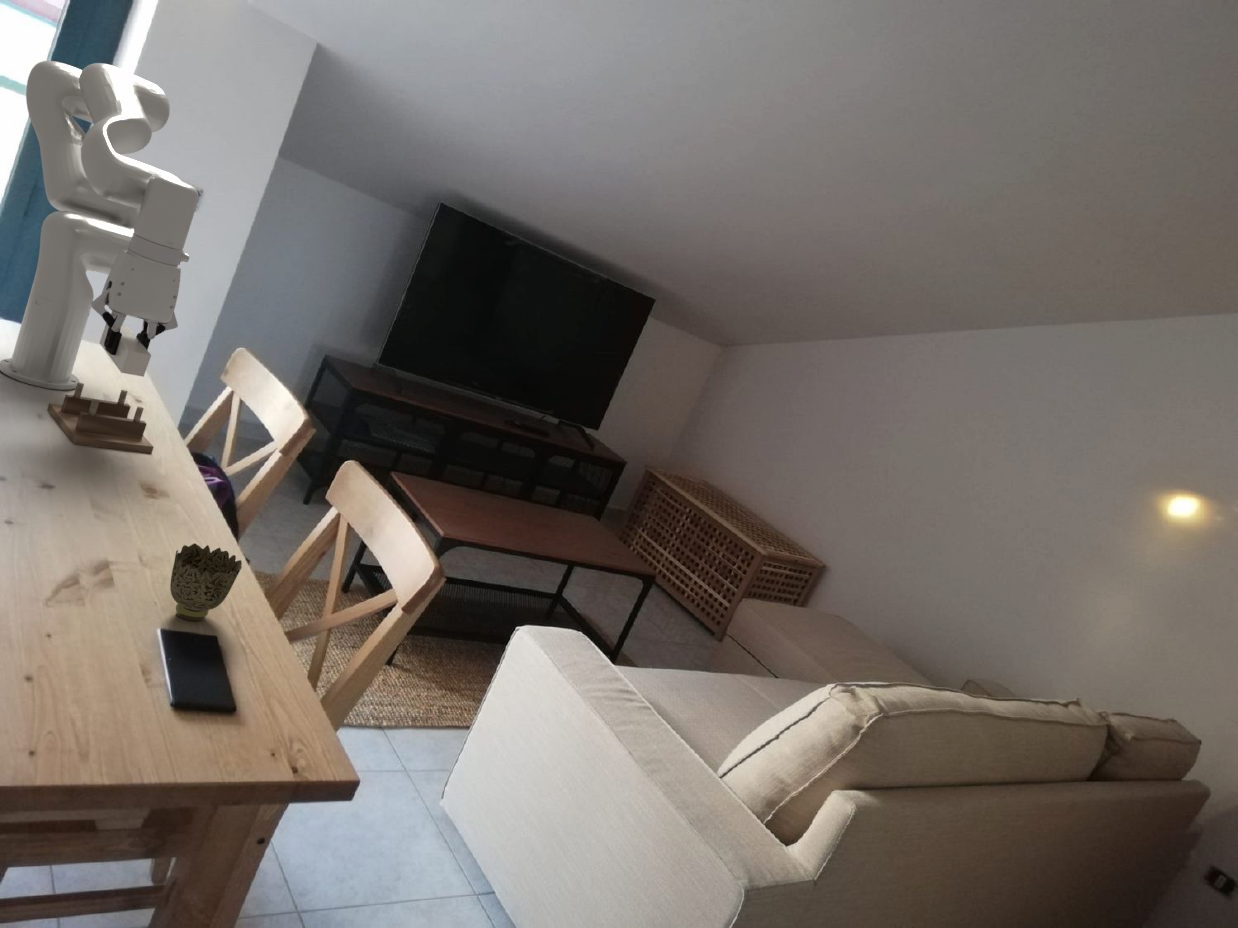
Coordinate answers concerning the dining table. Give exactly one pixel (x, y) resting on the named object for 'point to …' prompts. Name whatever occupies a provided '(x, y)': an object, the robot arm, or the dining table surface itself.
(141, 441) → the walnut rack
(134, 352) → the white rectangular block
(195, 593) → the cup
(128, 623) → the dining table surface
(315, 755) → the dining table surface
